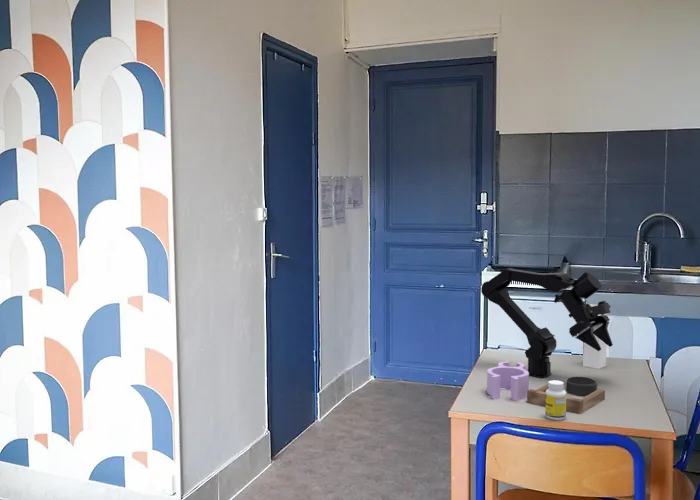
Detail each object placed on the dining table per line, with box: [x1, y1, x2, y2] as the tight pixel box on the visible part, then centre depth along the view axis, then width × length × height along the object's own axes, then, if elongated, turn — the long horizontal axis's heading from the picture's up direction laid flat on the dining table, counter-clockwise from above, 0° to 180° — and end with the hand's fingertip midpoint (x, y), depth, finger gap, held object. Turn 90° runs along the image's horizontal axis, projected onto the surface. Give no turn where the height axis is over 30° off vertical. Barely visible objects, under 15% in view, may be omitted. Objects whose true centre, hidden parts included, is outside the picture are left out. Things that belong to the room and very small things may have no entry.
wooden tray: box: [526, 383, 606, 415], centre depth 199 cm, size 16×18×4 cm
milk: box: [582, 303, 608, 370], centre depth 237 cm, size 6×6×22 cm
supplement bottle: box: [544, 379, 567, 421], centre depth 184 cm, size 5×5×10 cm
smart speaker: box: [565, 376, 598, 397], centre depth 207 cm, size 9×9×4 cm
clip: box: [486, 361, 530, 402], centre depth 209 cm, size 20×12×7 cm, turn 160°
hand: (605, 348), depth 211 cm, fingers open, 9 cm apart
